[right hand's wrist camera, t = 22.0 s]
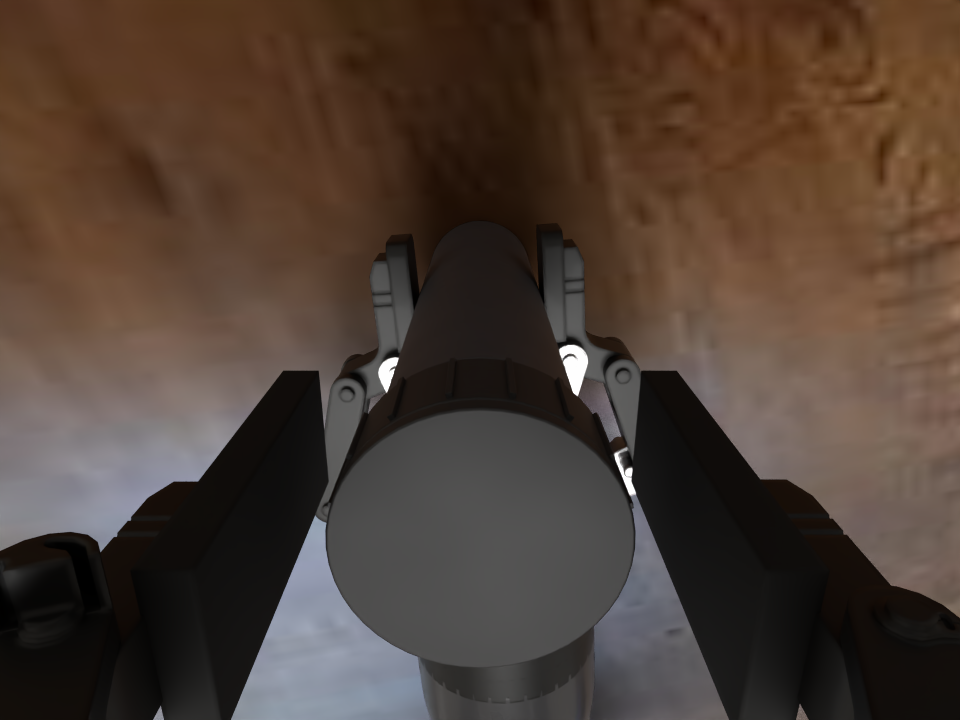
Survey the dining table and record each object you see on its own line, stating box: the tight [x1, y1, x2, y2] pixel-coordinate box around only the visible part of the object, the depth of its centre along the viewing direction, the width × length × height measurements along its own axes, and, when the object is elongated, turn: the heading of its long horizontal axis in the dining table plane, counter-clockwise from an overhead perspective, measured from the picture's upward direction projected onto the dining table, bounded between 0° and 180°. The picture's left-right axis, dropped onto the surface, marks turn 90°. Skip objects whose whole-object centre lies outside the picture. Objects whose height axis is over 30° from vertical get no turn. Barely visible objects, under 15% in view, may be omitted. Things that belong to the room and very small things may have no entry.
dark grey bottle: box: [387, 221, 574, 393], centre depth 20 cm, size 4×4×19 cm
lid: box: [326, 357, 635, 668], centre depth 11 cm, size 5×5×2 cm
